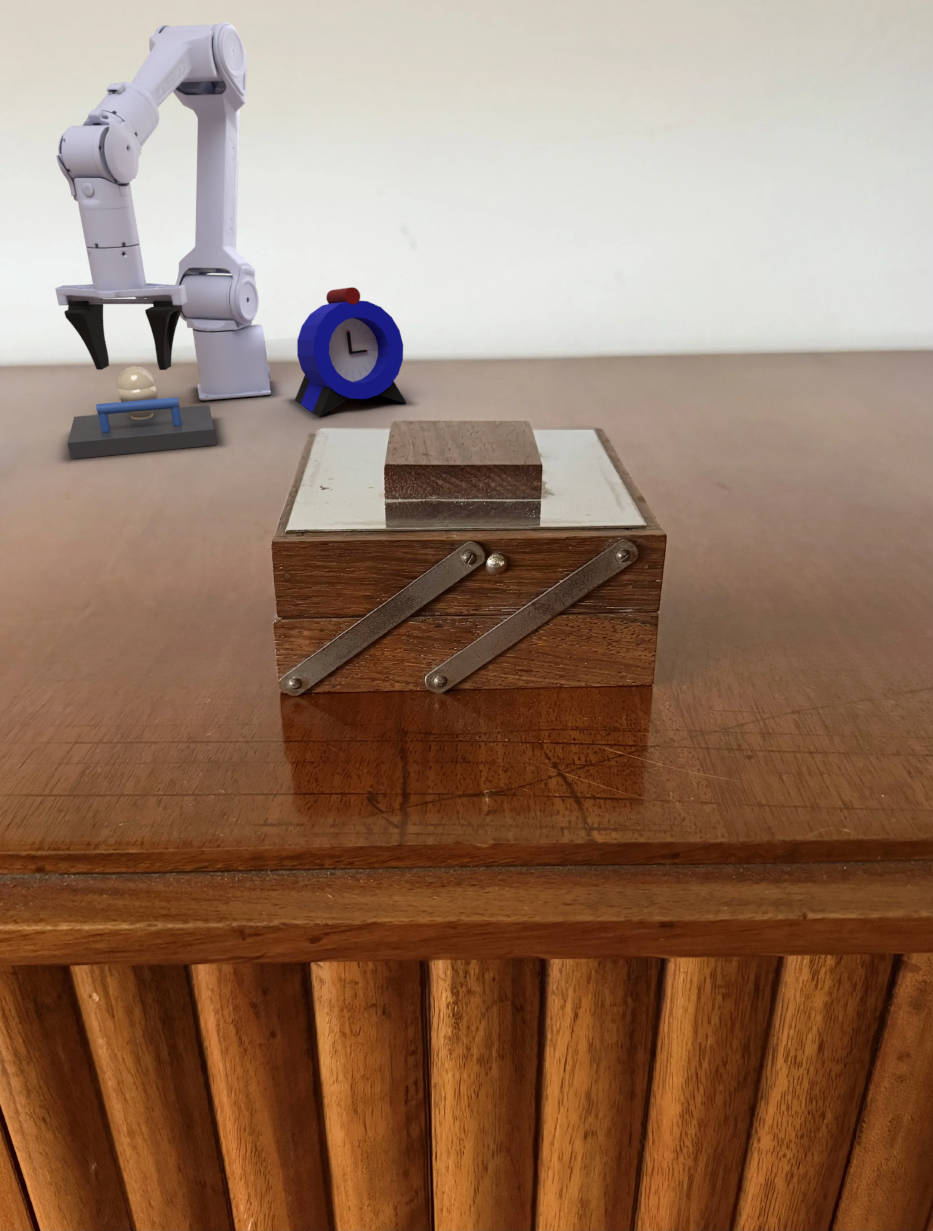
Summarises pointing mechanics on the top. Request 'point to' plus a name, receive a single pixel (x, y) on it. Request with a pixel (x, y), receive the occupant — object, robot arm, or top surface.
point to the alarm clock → (348, 353)
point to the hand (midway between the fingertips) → (134, 367)
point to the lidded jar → (137, 389)
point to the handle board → (140, 429)
